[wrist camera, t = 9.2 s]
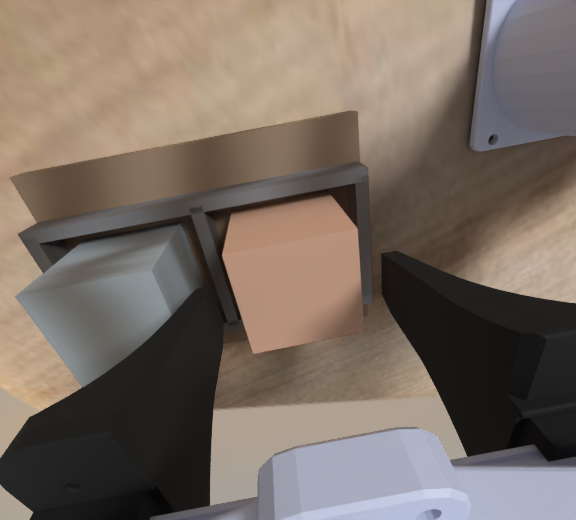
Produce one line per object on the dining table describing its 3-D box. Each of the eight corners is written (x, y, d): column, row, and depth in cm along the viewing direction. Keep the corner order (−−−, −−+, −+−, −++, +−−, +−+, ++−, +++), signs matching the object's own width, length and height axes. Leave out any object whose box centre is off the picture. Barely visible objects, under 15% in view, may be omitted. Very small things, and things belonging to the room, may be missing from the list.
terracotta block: (328, 191, 15) (357, 228, 11) (337, 274, 18) (364, 331, 13) (231, 210, 15) (221, 255, 11) (253, 290, 18) (253, 353, 13)
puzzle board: (351, 110, 14) (406, 117, 9) (362, 306, 20) (399, 379, 15) (24, 172, 14) (-109, 214, 9) (128, 351, 20) (83, 440, 15)
